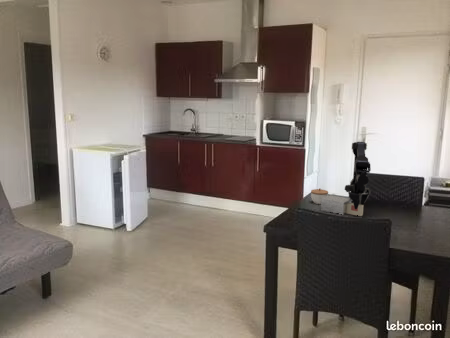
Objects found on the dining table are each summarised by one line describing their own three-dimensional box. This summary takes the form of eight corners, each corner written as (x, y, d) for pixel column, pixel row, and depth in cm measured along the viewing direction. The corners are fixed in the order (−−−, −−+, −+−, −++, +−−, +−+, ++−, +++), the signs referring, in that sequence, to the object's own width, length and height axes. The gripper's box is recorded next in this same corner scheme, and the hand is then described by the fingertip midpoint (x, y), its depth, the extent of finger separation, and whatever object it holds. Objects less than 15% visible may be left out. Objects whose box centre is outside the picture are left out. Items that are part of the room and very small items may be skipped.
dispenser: (328, 206, 255) (329, 195, 253) (351, 211, 246) (352, 199, 244) (320, 210, 246) (321, 198, 245) (344, 215, 237) (345, 202, 236)
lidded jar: (323, 206, 256) (324, 191, 255) (307, 203, 263) (308, 188, 261) (330, 202, 265) (331, 188, 263) (314, 199, 271) (315, 185, 269)
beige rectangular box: (332, 208, 249) (332, 199, 248) (362, 215, 237) (363, 205, 236) (330, 210, 247) (330, 200, 246) (360, 216, 235) (361, 206, 234)
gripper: (353, 176, 246) (351, 201, 249) (340, 181, 232) (339, 208, 235) (372, 179, 239) (370, 205, 242) (359, 184, 225) (357, 212, 228)
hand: (358, 207), depth 237 cm, fingers open, 9 cm apart
